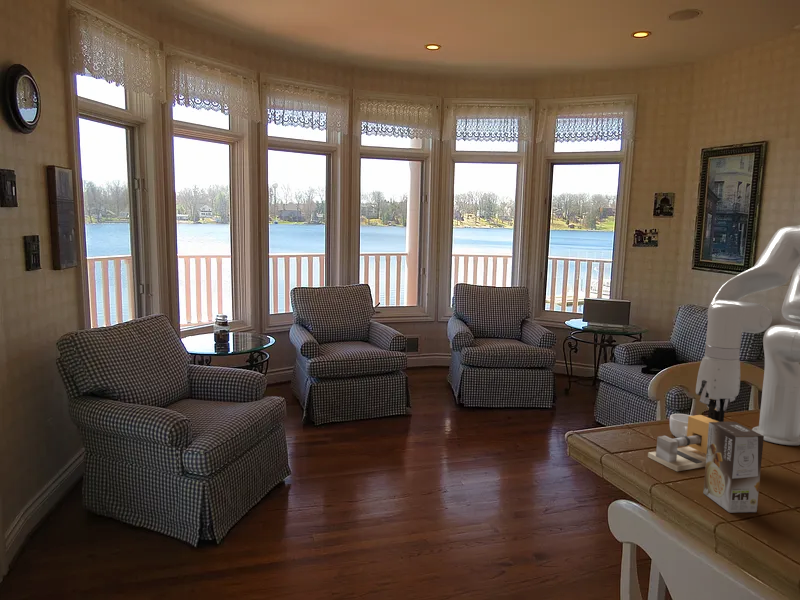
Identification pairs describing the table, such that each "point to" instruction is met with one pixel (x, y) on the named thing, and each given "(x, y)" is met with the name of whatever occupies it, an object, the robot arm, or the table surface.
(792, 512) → the table surface
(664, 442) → the pipe stand
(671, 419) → the teacup
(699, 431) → the collar
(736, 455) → the coffee box
